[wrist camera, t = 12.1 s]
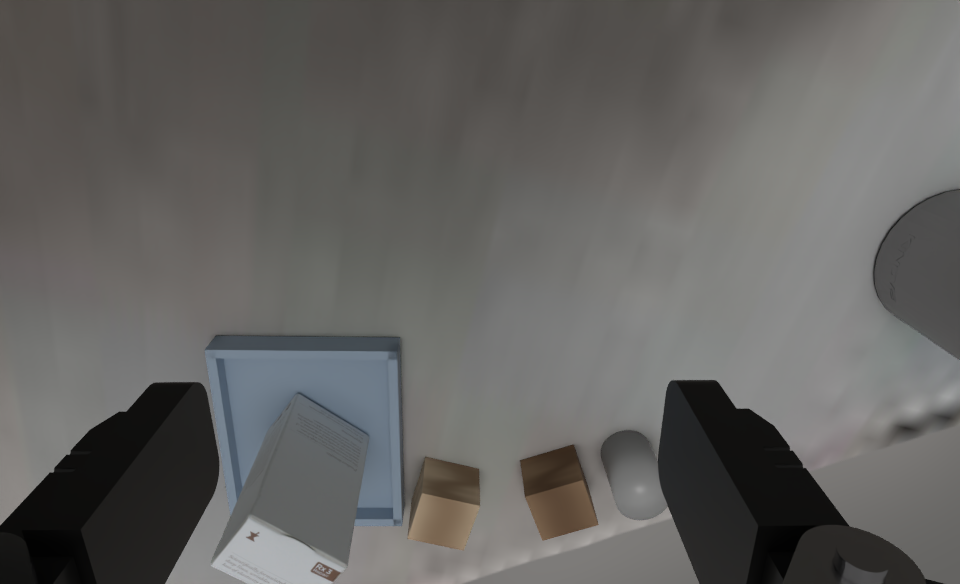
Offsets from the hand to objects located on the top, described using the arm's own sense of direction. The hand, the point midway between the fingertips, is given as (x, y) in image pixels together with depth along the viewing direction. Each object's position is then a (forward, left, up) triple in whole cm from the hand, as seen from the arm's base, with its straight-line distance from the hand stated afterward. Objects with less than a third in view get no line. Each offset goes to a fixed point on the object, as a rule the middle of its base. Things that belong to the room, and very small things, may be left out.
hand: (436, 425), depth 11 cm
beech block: (+1, +25, -29) cm, 38 cm away
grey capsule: (-12, +22, -29) cm, 38 cm away
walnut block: (-7, +24, -29) cm, 38 cm away
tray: (+10, +20, -29) cm, 36 cm away
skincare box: (+9, +20, -28) cm, 36 cm away
